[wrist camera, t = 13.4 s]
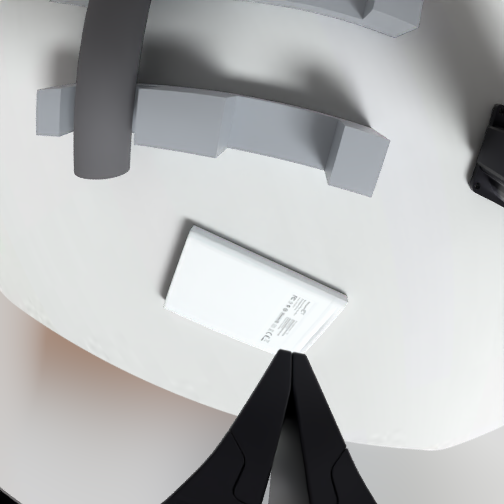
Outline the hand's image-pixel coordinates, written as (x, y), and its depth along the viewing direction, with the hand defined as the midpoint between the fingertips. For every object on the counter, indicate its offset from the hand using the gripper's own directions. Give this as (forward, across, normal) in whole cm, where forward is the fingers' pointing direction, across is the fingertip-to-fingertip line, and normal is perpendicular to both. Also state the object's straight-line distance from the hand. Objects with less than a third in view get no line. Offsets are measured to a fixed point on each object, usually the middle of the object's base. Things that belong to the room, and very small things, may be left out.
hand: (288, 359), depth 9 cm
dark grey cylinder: (+10, +12, -9) cm, 18 cm away
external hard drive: (+13, +1, +9) cm, 15 cm away
